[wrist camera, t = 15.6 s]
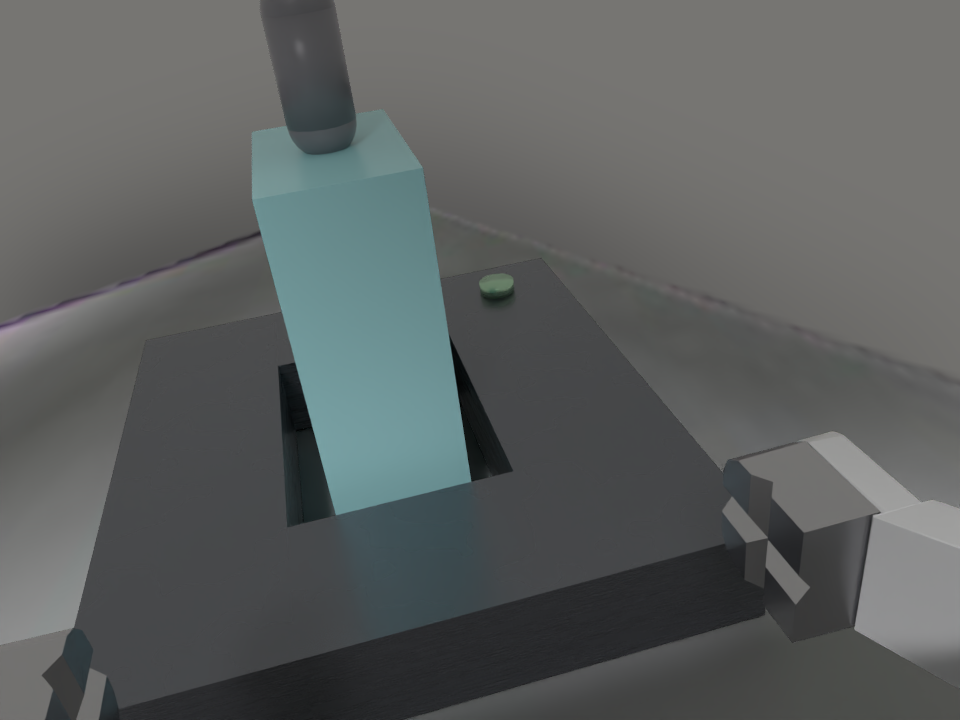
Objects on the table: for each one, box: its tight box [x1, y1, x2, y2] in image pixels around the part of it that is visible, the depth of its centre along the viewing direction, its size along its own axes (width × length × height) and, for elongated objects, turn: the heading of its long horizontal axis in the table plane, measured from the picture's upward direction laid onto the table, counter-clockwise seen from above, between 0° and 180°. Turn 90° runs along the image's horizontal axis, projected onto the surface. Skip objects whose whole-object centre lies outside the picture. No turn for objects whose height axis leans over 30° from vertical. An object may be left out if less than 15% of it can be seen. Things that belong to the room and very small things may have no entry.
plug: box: [252, 0, 471, 515], centre depth 21 cm, size 4×6×14 cm, turn 14°
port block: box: [74, 258, 765, 720], centre depth 23 cm, size 14×16×3 cm
